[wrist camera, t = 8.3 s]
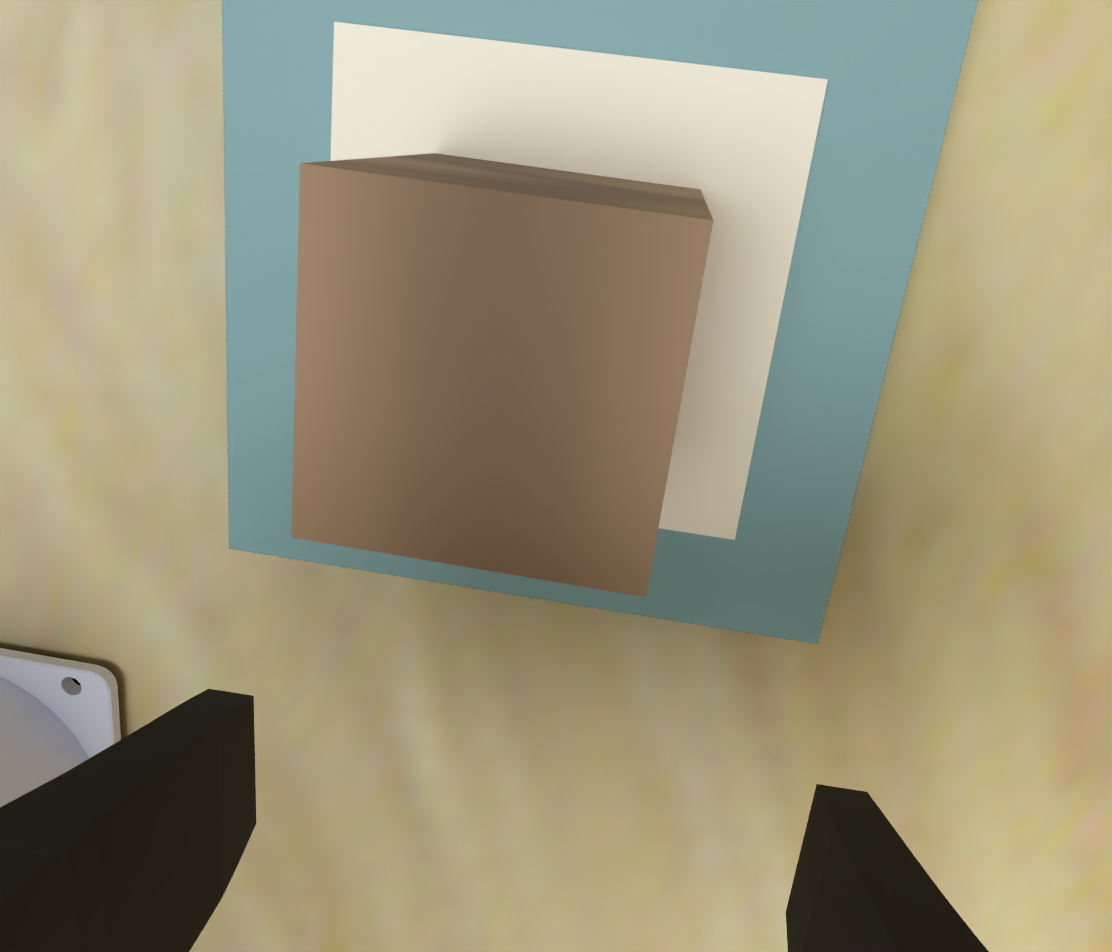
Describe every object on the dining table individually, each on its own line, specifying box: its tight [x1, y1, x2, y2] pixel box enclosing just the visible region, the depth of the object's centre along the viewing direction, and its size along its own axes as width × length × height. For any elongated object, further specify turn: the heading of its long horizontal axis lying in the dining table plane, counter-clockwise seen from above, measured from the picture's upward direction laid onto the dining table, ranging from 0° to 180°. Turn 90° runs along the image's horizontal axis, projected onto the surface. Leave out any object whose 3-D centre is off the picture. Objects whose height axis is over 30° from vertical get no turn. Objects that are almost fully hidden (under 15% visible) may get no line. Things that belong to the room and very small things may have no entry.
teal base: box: [222, 0, 978, 644], centre depth 17 cm, size 12×12×3 cm
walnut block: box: [291, 153, 713, 597], centre depth 13 cm, size 4×4×6 cm
